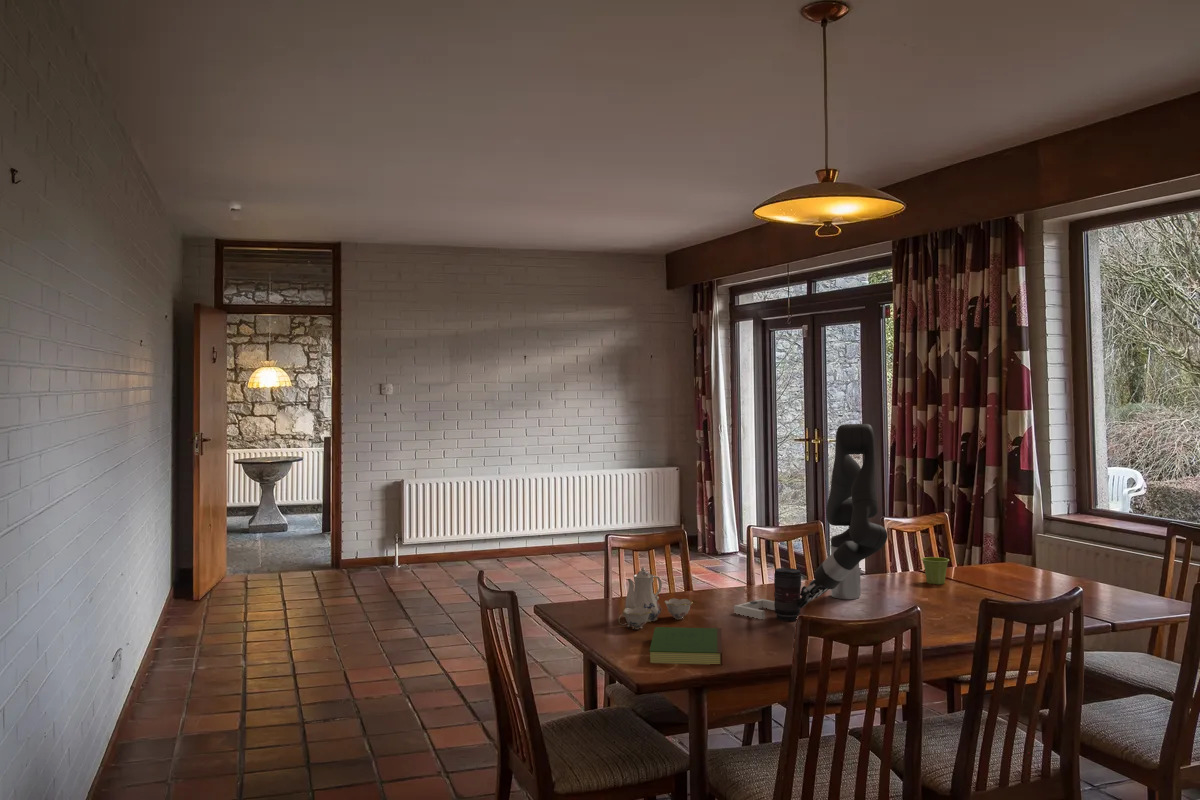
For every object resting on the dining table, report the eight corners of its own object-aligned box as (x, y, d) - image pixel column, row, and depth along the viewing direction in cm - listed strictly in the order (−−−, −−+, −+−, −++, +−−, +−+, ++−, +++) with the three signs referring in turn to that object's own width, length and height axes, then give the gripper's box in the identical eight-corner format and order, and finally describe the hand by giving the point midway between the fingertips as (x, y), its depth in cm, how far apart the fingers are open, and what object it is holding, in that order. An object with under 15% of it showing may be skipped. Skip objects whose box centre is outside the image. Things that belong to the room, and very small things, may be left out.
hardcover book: (722, 667, 238) (722, 652, 238) (649, 665, 241) (649, 650, 241) (721, 640, 263) (721, 627, 263) (655, 639, 266) (655, 626, 265)
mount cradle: (761, 606, 302) (761, 596, 302) (789, 612, 294) (789, 602, 294) (734, 613, 293) (734, 603, 293) (761, 619, 285) (761, 609, 285)
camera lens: (800, 622, 281) (800, 572, 280) (773, 620, 283) (773, 571, 283) (801, 616, 289) (801, 567, 288) (775, 614, 291) (775, 566, 290)
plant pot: (916, 581, 339) (916, 557, 338) (939, 579, 341) (939, 556, 341) (931, 586, 329) (931, 562, 329) (954, 584, 332) (954, 560, 332)
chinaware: (638, 639, 270) (642, 583, 268) (597, 624, 281) (601, 570, 280) (699, 622, 290) (702, 569, 288) (658, 608, 301) (662, 557, 300)
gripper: (838, 557, 280) (805, 591, 289) (813, 562, 271) (779, 598, 280) (854, 577, 276) (819, 611, 285) (828, 583, 267) (794, 619, 276)
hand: (799, 605), depth 282 cm, fingers closed
